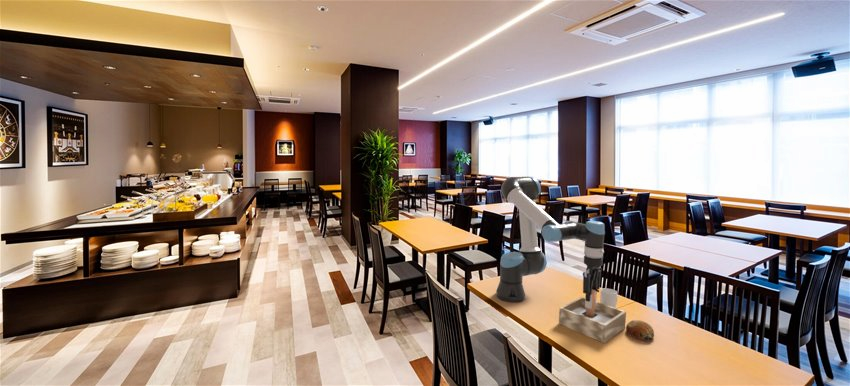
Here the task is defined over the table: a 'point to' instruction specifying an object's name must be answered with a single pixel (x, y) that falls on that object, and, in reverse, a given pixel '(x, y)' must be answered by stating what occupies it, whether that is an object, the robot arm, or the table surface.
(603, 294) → the mug
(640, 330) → the bread roll
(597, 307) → the socket box
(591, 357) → the table surface
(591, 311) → the peg
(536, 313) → the table surface
